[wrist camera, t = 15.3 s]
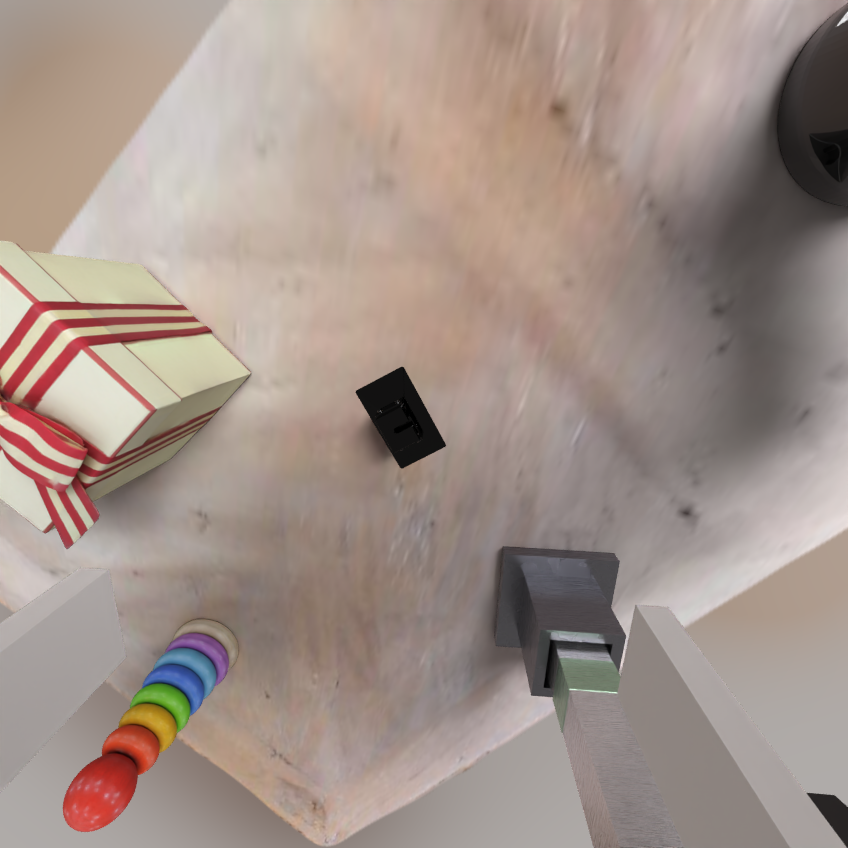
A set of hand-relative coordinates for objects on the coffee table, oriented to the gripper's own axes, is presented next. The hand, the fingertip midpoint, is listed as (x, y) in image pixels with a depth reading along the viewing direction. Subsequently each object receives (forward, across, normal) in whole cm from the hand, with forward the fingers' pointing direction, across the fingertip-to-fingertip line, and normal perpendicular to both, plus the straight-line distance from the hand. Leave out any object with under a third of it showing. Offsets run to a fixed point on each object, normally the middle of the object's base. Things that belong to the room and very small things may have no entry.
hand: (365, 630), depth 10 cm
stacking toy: (+32, -26, -33) cm, 53 cm away
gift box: (+32, -28, 0) cm, 43 cm away
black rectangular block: (+32, -2, -3) cm, 33 cm away
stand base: (+32, +15, -23) cm, 42 cm away
